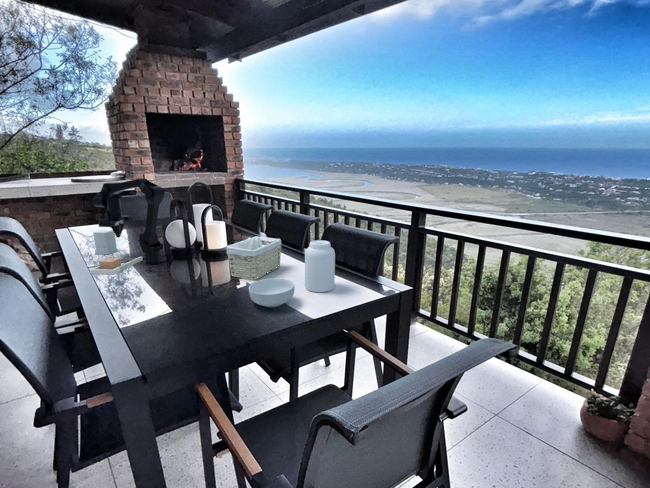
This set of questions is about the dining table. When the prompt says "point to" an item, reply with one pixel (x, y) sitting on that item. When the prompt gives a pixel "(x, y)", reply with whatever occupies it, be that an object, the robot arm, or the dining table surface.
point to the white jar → (319, 266)
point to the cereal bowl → (271, 291)
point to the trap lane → (104, 271)
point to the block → (110, 263)
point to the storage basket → (254, 257)
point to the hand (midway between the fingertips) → (118, 237)
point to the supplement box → (105, 241)
